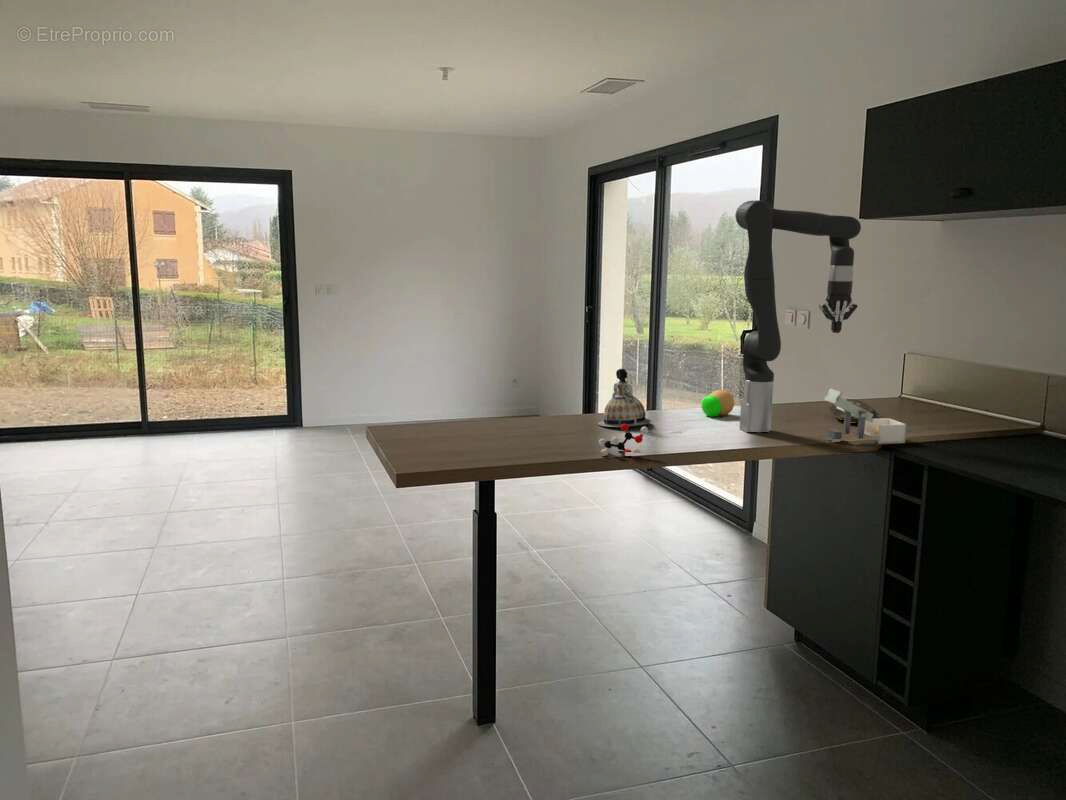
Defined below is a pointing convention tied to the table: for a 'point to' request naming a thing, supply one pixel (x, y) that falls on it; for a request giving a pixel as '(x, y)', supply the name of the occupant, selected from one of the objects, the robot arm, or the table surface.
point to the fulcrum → (846, 428)
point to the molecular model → (628, 436)
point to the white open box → (886, 430)
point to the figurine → (623, 405)
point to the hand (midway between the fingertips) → (836, 332)
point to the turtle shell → (840, 415)
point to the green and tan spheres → (718, 403)
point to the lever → (845, 404)
